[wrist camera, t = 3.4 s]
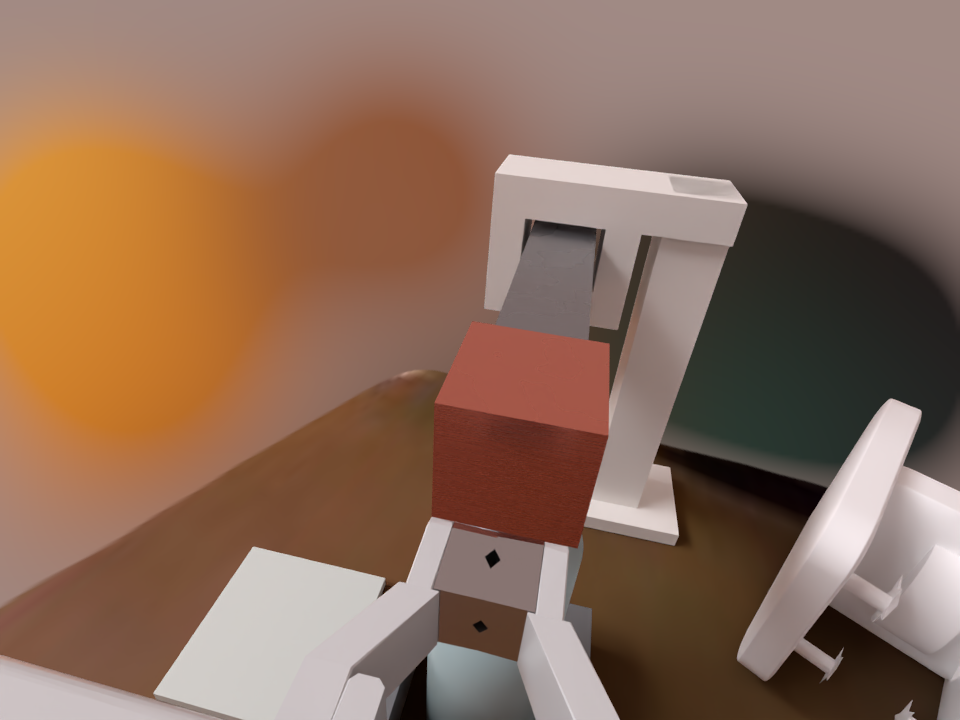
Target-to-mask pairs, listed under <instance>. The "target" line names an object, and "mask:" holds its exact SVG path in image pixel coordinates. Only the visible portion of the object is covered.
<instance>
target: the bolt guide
mask: <svg viewBox="0 0 960 720" xmlns="http://www.w3.org/2000/svg"><path fill="white" fill-rule="evenodd" d="M746 207H747V203H746V202H745V200H744V199H743V198H742V197H741V195H740V194H739V192H738V191H737V190H736V188H735V187H734V186H733V184H732V183H731V181H727V180H720V179H711V178H703V177H694V176H686V175H678V174H669V173H661V172H652V171H644V170H635V169H626V168H619V167H610V166H602V165H594V164H585V163H577V162H568V161H560V160H551V159H542V158H535V157H526V156H518V155H509V156H508V157H507V158H506V159H505V161H504V162H503V163H502V165H501V166H500V167H499V169H498V170H497V171H496V173H495V181H494V193H493V205H492V218H491V231H490V242H489V255H488V267H487V279H486V292H485V305H484V308H485V309H490V310H497V311H501V309H502V306H503V304H504V301H505V298H506V296H507V293H508V290H509V288H510V285H511V283H512V280H513V277H514V275H515V272H516V269H517V267H518V264H519V262H520V259H521V256H522V254H523V251H524V248H525V246H526V243H527V241H528V238H529V235H530V232H531V224H532V219H533V220H540V221H547V222H554V223H562V224H569V225H577V226H584V227H591V228H599V229H602V231H601V236H600V241H599V246H598V251H597V256H596V260H595V261H594V269H593V283H592V297H591V311H590V324H589V326H596V327H602V328H608V329H614V330H618V326H619V322H620V318H621V314H622V310H623V306H624V302H625V298H626V294H627V290H628V286H629V282H630V278H631V274H632V270H633V266H634V262H635V258H636V254H637V250H638V246H639V242H640V238H641V234H643V235H650V236H652V239H651V243H650V247H649V251H648V255H647V259H646V263H645V266H644V270H643V274H642V278H641V282H640V285H639V289H638V293H637V297H636V301H635V304H634V308H633V312H632V316H631V320H630V323H629V327H628V331H627V335H626V339H625V342H624V346H623V350H622V354H621V358H620V362H619V365H618V369H617V373H616V377H615V381H614V385H613V388H612V392H611V396H610V400H609V437H608V440H607V444H606V447H605V451H604V455H603V458H602V462H601V466H600V469H599V473H598V477H597V480H596V484H595V487H594V491H593V495H592V498H591V502H590V506H589V509H588V513H587V517H586V520H585V524H584V527H589V528H593V529H598V530H603V531H608V532H612V533H617V534H622V535H626V536H631V537H636V538H640V539H645V540H650V541H654V542H659V543H664V544H669V545H673V546H675V543H676V541H677V539H678V537H679V532H678V525H677V517H676V509H675V502H674V494H673V486H672V479H671V471H670V467H665V466H660V465H655V464H653V461H654V458H655V456H656V453H657V450H658V447H659V444H660V441H661V439H662V436H663V433H664V430H665V427H666V424H667V422H668V419H669V416H670V413H671V410H672V407H673V404H674V402H675V399H676V396H677V393H678V390H679V387H680V385H681V382H682V379H683V376H684V373H685V370H686V367H687V365H688V362H689V359H690V356H691V353H692V350H693V348H694V344H695V342H696V339H697V336H698V333H699V331H700V327H701V324H702V322H703V319H704V316H705V313H706V311H707V308H708V305H709V302H710V299H711V296H712V293H713V291H714V288H715V285H716V282H717V279H718V276H719V274H720V271H721V268H722V265H723V262H724V259H725V257H726V254H727V251H728V248H729V246H733V243H734V241H735V238H736V235H737V232H738V230H739V227H740V224H741V221H742V218H743V216H744V213H745V210H746Z"/></svg>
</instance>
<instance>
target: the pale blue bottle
mask: <svg viewBox="0 0 960 720" xmlns="http://www.w3.org/2000/svg"><path fill="white" fill-rule="evenodd" d="M444 520H445V519H444ZM453 522H454V521H453ZM457 523H458V522H457ZM461 524H463V523H461ZM465 525H467V524H465ZM469 526H472V525H469ZM473 527H477V526H473ZM478 528H481V527H478ZM482 529H486V528H482ZM486 530H490V529H486ZM490 531H494V532H498V533H499V531H495V530H490ZM503 533H504V532H503ZM544 542H545V541H544ZM548 543H549V542H548ZM553 544H554V543H553ZM558 545H559V544H558ZM568 549H569V561H568V573H567V586H566V599H565V612H564V619H565V616H566V612H567V609H568V605H569V602H570V598H571V595H572V591H573V588H574V584H575V581H576V577H577V574H578V570H579V567H580V563H581V560H582V555H583V538H582V535H581V538H580V542H579V546H578V549H577V548H572V547H568ZM426 720H536V719H535V716H534V713H533V710H532V707H531V704H530V701H529V698H528V695H527V692H526V689H525V686H524V683H523V680H522V677H521V675H520V672H519V669H518V666H517V662H516V661H513V660H509V659H505V658H502V657H498V656H495V655H491V654H488V653H484V652H481V651H478V650H473V649H468V648H464V647H459V646H455V645H450V644H445V643H441V642H437V645H436V646H435V648H434V649H433V650H432V651H431V652H430V653H429V654H428V655H427V699H426Z"/></svg>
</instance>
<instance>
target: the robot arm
mask: <svg viewBox="0 0 960 720" xmlns="http://www.w3.org/2000/svg"><path fill="white" fill-rule="evenodd" d="M568 561H569V549H568V546H563V545H558V544H553V543H548V542H544V541H542V540H537V539H532V538H527V537H522V536H518V535H513V534H508V533H503V532H499V533H498V532H494V531H490V530H486V529H482V528H478V527H473V526H469V525H465V524H461V523H457V522H453V521H449V520H444V519H440V518H435V517H432V518H431V519H430V521H429V522H428V524H427V527H426V530H425V533H424V535H423V538H422V541H421V543H420V546H419V549H418V552H417V554H416V557H415V560H414V562H413V565H412V568H411V571H410V573H409V576H408V579H407V582H406V583H404V582H398V583H397V584H396V585H394V586H393V587H392V588H391V589H389V590H388V591H387V592H386V593H384V594H383V595H382V596H381V597H379V598H378V599H377V600H375V601H374V602H373V603H372V604H370V605H369V606H368V607H367V608H365V609H364V610H363V611H362V612H360V613H359V614H358V615H357V616H355V617H354V618H353V619H351V620H350V621H349V622H348V623H346V624H345V625H344V626H343V627H341V628H340V629H339V630H338V631H336V632H335V633H334V634H333V635H331V636H330V637H329V638H327V639H326V640H325V641H324V642H322V643H321V644H320V645H319V646H317V647H316V648H315V649H314V650H312V651H311V652H310V653H308V654H307V655H306V656H305V658H304V660H303V662H302V664H301V666H300V668H299V670H298V672H297V674H296V676H295V678H294V680H293V682H292V684H291V686H290V688H289V690H288V692H287V695H286V697H285V699H284V701H283V703H282V705H281V707H280V709H279V711H278V713H277V715H276V717H275V719H274V720H387V713H386V699H387V697H388V696H389V695H390V694H391V693H392V692H393V691H394V690H395V689H396V688H397V687H398V686H399V685H400V684H401V683H402V682H403V680H404V679H405V678H406V677H407V676H408V675H409V674H410V673H411V672H412V671H413V670H414V669H415V668H416V667H417V666H418V665H419V663H420V662H421V661H422V660H423V659H424V658H425V657H426V656H427V655H428V654H429V653H430V652H431V651H432V650H433V649H434V648H435V646H436V645H437V642H441V643H445V644H450V645H455V646H459V647H464V648H468V649H473V650H478V651H481V652H484V653H488V654H491V655H495V656H498V657H502V658H505V659H509V660H513V661H516V662H517V666H518V669H519V672H520V675H521V677H522V680H523V683H524V686H525V689H526V692H527V695H528V698H529V701H530V704H531V707H532V710H533V713H534V716H535V719H536V720H620V719H619V717H618V715H617V713H616V711H615V709H614V707H613V705H612V703H611V701H610V699H609V697H608V695H607V693H606V691H605V689H604V687H603V685H602V683H601V681H600V679H599V677H598V675H597V673H596V671H595V669H594V667H593V665H592V663H591V661H590V659H589V657H588V655H587V653H586V651H585V649H584V647H583V645H582V643H581V641H580V639H579V637H578V635H577V633H576V631H575V629H574V628H573V626H572V624H571V622H567V621H564V612H565V599H566V586H567V573H568ZM0 720H223V719H220V718H217V717H213V716H210V715H206V714H203V713H199V712H196V711H192V710H189V709H185V708H182V707H179V706H175V705H172V704H168V703H165V702H161V701H158V700H154V699H151V698H148V697H144V696H141V695H137V694H134V693H130V692H127V691H123V690H120V689H116V688H113V687H110V686H106V685H103V684H99V683H96V682H92V681H89V680H85V679H82V678H79V677H75V676H72V675H68V674H65V673H61V672H58V671H54V670H51V669H47V668H44V667H41V666H37V665H34V664H30V663H27V662H23V661H20V660H16V659H13V658H9V657H6V656H3V655H0Z"/></svg>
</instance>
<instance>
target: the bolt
mask: <svg viewBox="0 0 960 720" xmlns="http://www.w3.org/2000/svg"><path fill="white" fill-rule="evenodd" d="M595 242H596V228H591V227H584V226H577V225H569V224H562V223H554V222H547V221H540V220H535V222H534V225H533V228H532V230H531V233H530V235H529V238H528V241H527V243H526V246H525V248H524V251H523V254H522V256H521V259H520V262H519V264H518V267H517V269H516V272H515V275H514V277H513V280H512V283H511V285H510V288H509V290H508V293H507V296H506V298H505V301H504V304H503V306H502V309H501V311H500V314H499V317H498V319H497V322H496V324H495V325H492V324H486V323H480V322H474V321H472V323H471V326H470V328H469V330H468V332H467V334H466V336H465V338H464V340H463V343H462V345H461V347H460V349H459V351H458V354H457V356H456V358H455V360H454V362H453V364H452V367H451V369H450V371H449V373H448V375H447V377H446V379H445V382H444V384H443V386H442V388H441V390H440V392H439V395H438V397H437V399H436V401H435V409H434V451H433V492H432V517H435V518H440V519H445V520H449V521H454V522H458V523H463V524H467V525H472V526H477V527H481V528H486V529H490V530H495V531H499V532H504V533H508V534H513V535H518V536H522V537H527V538H532V539H537V540H542V541H545V542H549V543H554V544H559V545H563V546H568V547H572V548H577V549H578V546H579V542H580V538H581V535H582V531H583V528H584V524H585V520H586V517H587V513H588V509H589V506H590V502H591V498H592V495H593V491H594V487H595V484H596V480H597V477H598V473H599V469H600V466H601V462H602V458H603V455H604V451H605V447H606V444H607V440H608V437H609V344H608V343H602V342H595V341H589V340H588V338H589V324H590V311H591V297H592V283H593V269H594V255H595Z"/></svg>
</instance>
